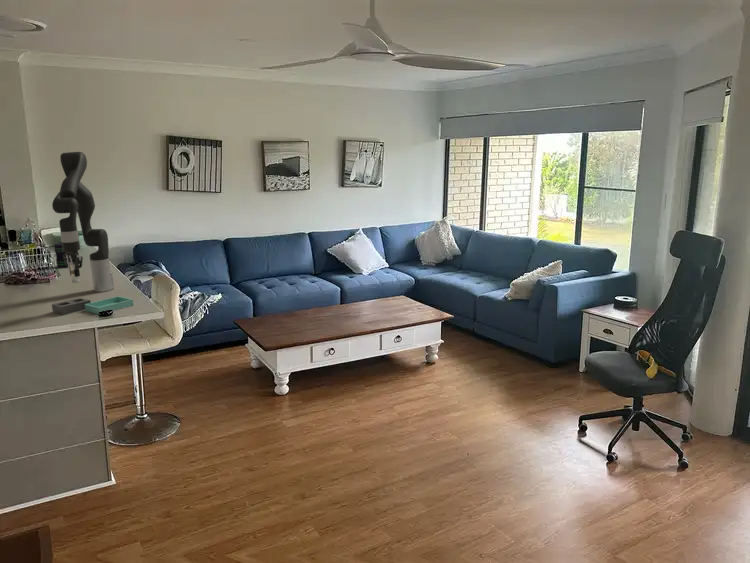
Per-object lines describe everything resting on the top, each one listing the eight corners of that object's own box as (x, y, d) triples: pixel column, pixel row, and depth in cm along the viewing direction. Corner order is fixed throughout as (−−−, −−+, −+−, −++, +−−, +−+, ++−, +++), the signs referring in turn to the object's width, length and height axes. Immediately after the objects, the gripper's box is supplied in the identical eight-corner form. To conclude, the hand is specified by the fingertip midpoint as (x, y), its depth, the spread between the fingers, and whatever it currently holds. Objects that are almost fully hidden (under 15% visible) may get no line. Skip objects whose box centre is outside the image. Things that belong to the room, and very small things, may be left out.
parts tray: (119, 302, 302) (118, 296, 301) (133, 305, 295) (133, 299, 295) (85, 310, 287) (84, 304, 287) (99, 314, 281) (98, 308, 280)
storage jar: (57, 266, 391) (54, 243, 387) (74, 264, 395) (71, 242, 391) (56, 268, 382) (53, 245, 378) (73, 267, 386) (70, 244, 382)
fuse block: (80, 305, 296) (79, 297, 296) (91, 308, 292) (90, 300, 291) (52, 312, 285) (51, 304, 284) (63, 315, 280) (61, 306, 279)
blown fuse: (77, 280, 290) (74, 260, 288) (81, 281, 289) (78, 261, 286) (70, 282, 288) (67, 261, 285) (74, 283, 286) (71, 262, 283)
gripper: (86, 240, 282) (90, 276, 287) (69, 237, 290) (74, 272, 294) (70, 243, 276) (75, 279, 281) (54, 240, 284) (59, 275, 288)
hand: (75, 275), depth 287 cm, fingers closed on blown fuse, 3 cm apart
